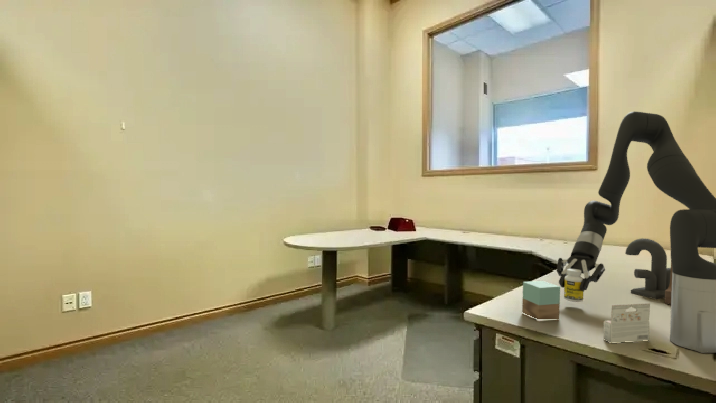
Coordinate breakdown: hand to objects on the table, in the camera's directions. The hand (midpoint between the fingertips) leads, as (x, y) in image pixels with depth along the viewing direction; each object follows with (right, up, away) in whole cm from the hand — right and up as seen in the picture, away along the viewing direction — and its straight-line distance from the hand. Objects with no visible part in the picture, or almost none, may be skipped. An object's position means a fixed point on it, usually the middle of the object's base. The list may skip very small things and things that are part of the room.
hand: (571, 287), depth 118 cm
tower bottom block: (-14, -7, -8) cm, 18 cm away
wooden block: (+40, -7, +7) cm, 41 cm away
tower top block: (-14, -2, -9) cm, 17 cm away
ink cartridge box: (-1, -8, -26) cm, 27 cm away
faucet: (+41, -7, +22) cm, 47 cm away
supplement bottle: (+1, -4, +1) cm, 5 cm away
